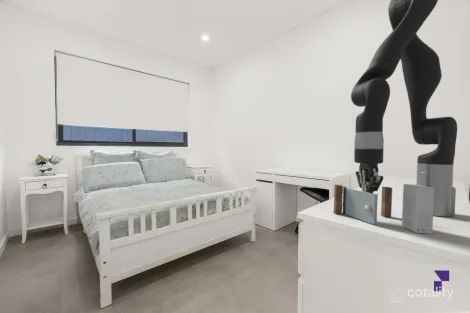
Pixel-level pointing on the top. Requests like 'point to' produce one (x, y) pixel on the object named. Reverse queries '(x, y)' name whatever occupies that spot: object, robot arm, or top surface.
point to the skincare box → (418, 208)
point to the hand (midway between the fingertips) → (367, 203)
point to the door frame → (341, 193)
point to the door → (361, 205)
